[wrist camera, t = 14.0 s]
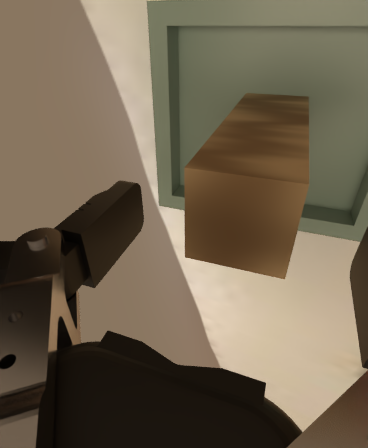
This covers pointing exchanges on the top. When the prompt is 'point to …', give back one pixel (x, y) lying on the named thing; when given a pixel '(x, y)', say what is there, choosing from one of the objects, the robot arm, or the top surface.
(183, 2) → the green tray
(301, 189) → the oak post
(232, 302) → the top surface
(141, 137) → the top surface
